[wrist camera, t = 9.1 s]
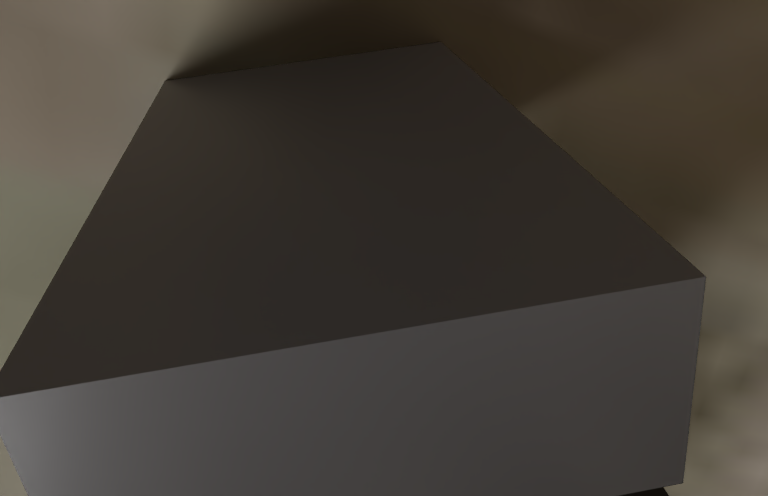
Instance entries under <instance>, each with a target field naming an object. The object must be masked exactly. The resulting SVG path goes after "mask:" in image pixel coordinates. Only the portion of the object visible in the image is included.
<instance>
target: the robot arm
mask: <svg viewBox="0 0 768 496" xmlns="http://www.w3.org/2000/svg"><path fill="white" fill-rule="evenodd" d="M619 496H669V495H668V494H667V492H666V491H665V489H664V488H663V487H661V488H655V489H650V490H645V491H640V492H635V493H630V494H624V495H619Z"/></svg>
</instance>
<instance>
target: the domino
mask: <svg viewBox="0 0 768 496" xmlns="http://www.w3.org/2000/svg"><path fill="white" fill-rule="evenodd" d="M705 281H706V276H705V275H704V274H702V273H701V272H700V271H699V270H698V269H697V268H696V267H695V266H693V265H692V264H691V263H690V262H689V261H688V260H687V259H685V258H684V257H683V256H682V255H681V254H680V253H679V252H678V251H676V250H675V249H674V248H673V247H672V246H671V245H670V244H669V243H667V242H666V241H665V240H664V239H663V238H662V237H661V236H660V235H658V234H657V233H656V232H655V231H654V230H653V229H652V228H650V227H649V226H648V225H647V224H646V223H645V222H644V221H643V220H641V219H640V218H639V217H638V216H637V215H636V214H635V213H634V212H632V211H631V210H630V209H629V208H628V207H627V206H626V205H625V204H623V203H622V202H621V201H620V200H619V199H618V198H617V197H616V196H614V195H613V194H612V193H611V192H610V191H609V190H608V189H606V188H605V187H604V186H603V185H602V184H601V183H600V182H599V181H597V180H596V179H595V178H594V177H593V176H592V175H591V174H590V173H588V172H587V171H586V170H585V169H584V168H583V167H582V166H581V165H579V164H578V163H577V162H576V161H575V160H574V159H573V158H571V157H570V156H569V155H568V154H567V153H566V152H565V151H564V150H562V149H561V148H560V147H559V146H558V145H557V144H556V143H555V142H553V141H552V140H551V139H550V138H549V137H548V136H547V135H546V134H544V133H543V132H542V131H541V130H540V129H539V128H538V127H536V126H535V125H534V124H533V123H532V122H531V121H530V120H529V119H527V118H526V117H525V116H524V115H523V114H522V113H521V112H520V111H518V110H517V109H516V108H515V107H514V106H513V105H512V104H511V103H509V102H508V101H507V100H506V99H505V98H504V97H503V96H502V95H500V94H499V93H498V92H497V91H496V90H495V89H494V88H492V87H491V86H490V85H489V84H488V83H487V82H486V81H485V80H483V79H482V78H481V77H480V76H479V75H478V74H477V73H476V72H474V71H473V70H472V69H471V68H470V67H469V66H468V65H467V64H465V63H464V62H463V61H462V60H461V59H460V58H459V57H457V56H456V55H455V54H454V53H453V52H452V51H451V50H450V49H448V48H447V47H446V46H445V45H444V44H443V43H442V42H437V43H430V44H423V45H415V46H408V47H401V48H394V49H387V50H380V51H373V52H366V53H359V54H352V55H345V56H338V57H330V58H323V59H316V60H309V61H302V62H295V63H288V64H281V65H274V66H267V67H260V68H253V69H245V70H238V71H231V72H224V73H217V74H210V75H203V76H196V77H189V78H182V79H175V80H168V81H165V82H164V84H163V86H162V87H161V89H160V91H159V93H158V94H157V96H156V98H155V100H154V101H153V103H152V105H151V107H150V108H149V110H148V112H147V114H146V115H145V117H144V119H143V121H142V123H141V124H140V126H139V128H138V130H137V131H136V133H135V135H134V137H133V138H132V140H131V142H130V144H129V145H128V147H127V149H126V151H125V152H124V154H123V156H122V158H121V160H120V161H119V163H118V165H117V167H116V168H115V170H114V172H113V174H112V175H111V177H110V179H109V181H108V182H107V184H106V186H105V188H104V189H103V191H102V193H101V195H100V197H99V198H98V200H97V202H96V204H95V205H94V207H93V209H92V211H91V212H90V214H89V216H88V218H87V219H86V221H85V223H84V225H83V227H82V228H81V230H80V232H79V234H78V235H77V237H76V239H75V241H74V242H73V244H72V246H71V248H70V249H69V251H68V253H67V255H66V256H65V258H64V260H63V262H62V264H61V265H60V267H59V269H58V271H57V272H56V274H55V276H54V278H53V279H52V281H51V283H50V285H49V286H48V288H47V290H46V292H45V293H44V295H43V297H42V299H41V301H40V302H39V304H38V306H37V308H36V309H35V311H34V313H33V315H32V316H31V318H30V320H29V322H28V323H27V325H26V327H25V329H24V330H23V332H22V334H21V336H20V338H19V339H18V341H17V343H16V345H15V346H14V348H13V350H12V352H11V353H10V355H9V357H8V359H7V360H6V362H5V364H4V366H3V367H2V369H1V371H0V436H1V438H2V440H3V442H4V445H5V447H6V449H7V451H8V453H9V455H10V458H11V460H12V462H13V464H14V466H15V468H16V471H17V473H18V475H19V477H20V479H21V481H22V484H23V486H24V488H25V490H26V492H27V494H28V496H619V495H624V494H630V493H635V492H640V491H645V490H650V489H655V488H661V487H666V486H671V485H676V484H681V483H683V479H684V470H685V461H686V452H687V443H688V434H689V425H690V416H691V407H692V398H693V389H694V380H695V371H696V362H697V353H698V344H699V335H700V326H701V317H702V308H703V299H704V290H705Z"/></svg>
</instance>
